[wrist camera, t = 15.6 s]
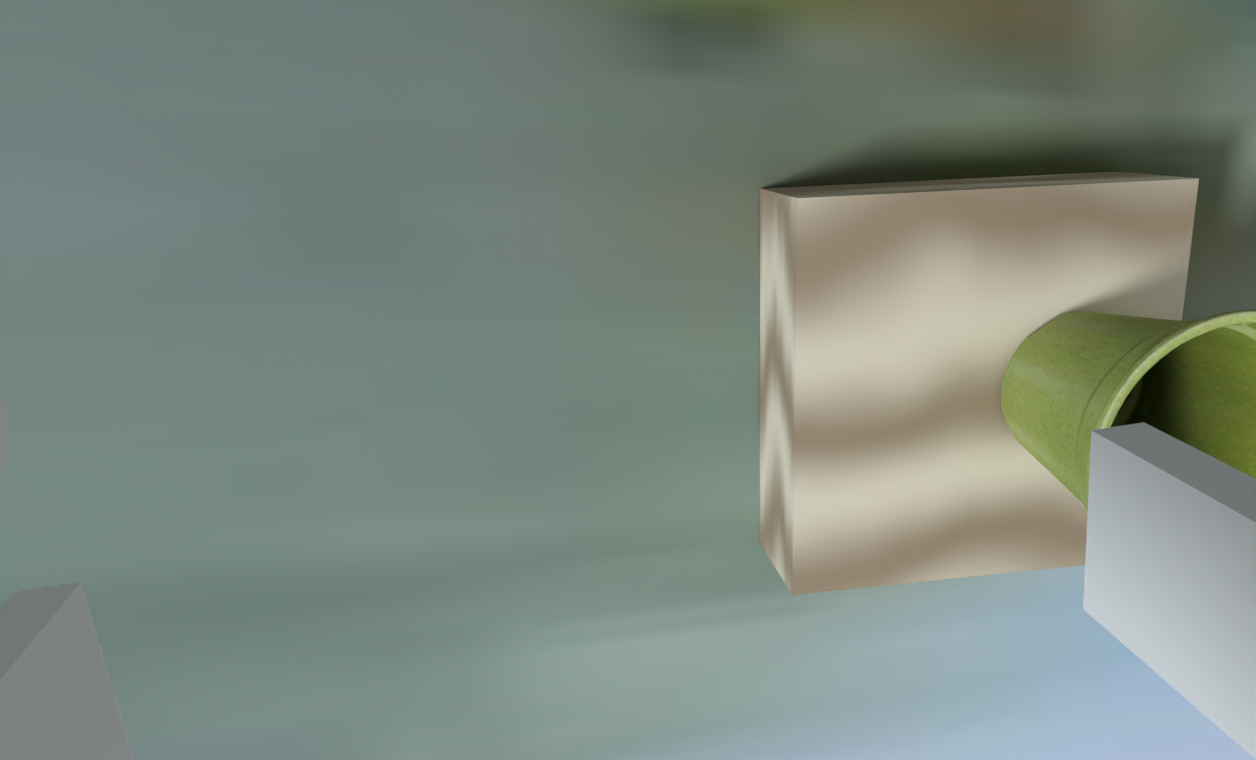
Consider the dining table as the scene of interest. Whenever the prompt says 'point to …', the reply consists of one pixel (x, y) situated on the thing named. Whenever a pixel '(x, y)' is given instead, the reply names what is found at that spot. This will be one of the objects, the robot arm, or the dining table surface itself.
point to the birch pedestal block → (936, 362)
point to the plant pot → (1133, 387)
